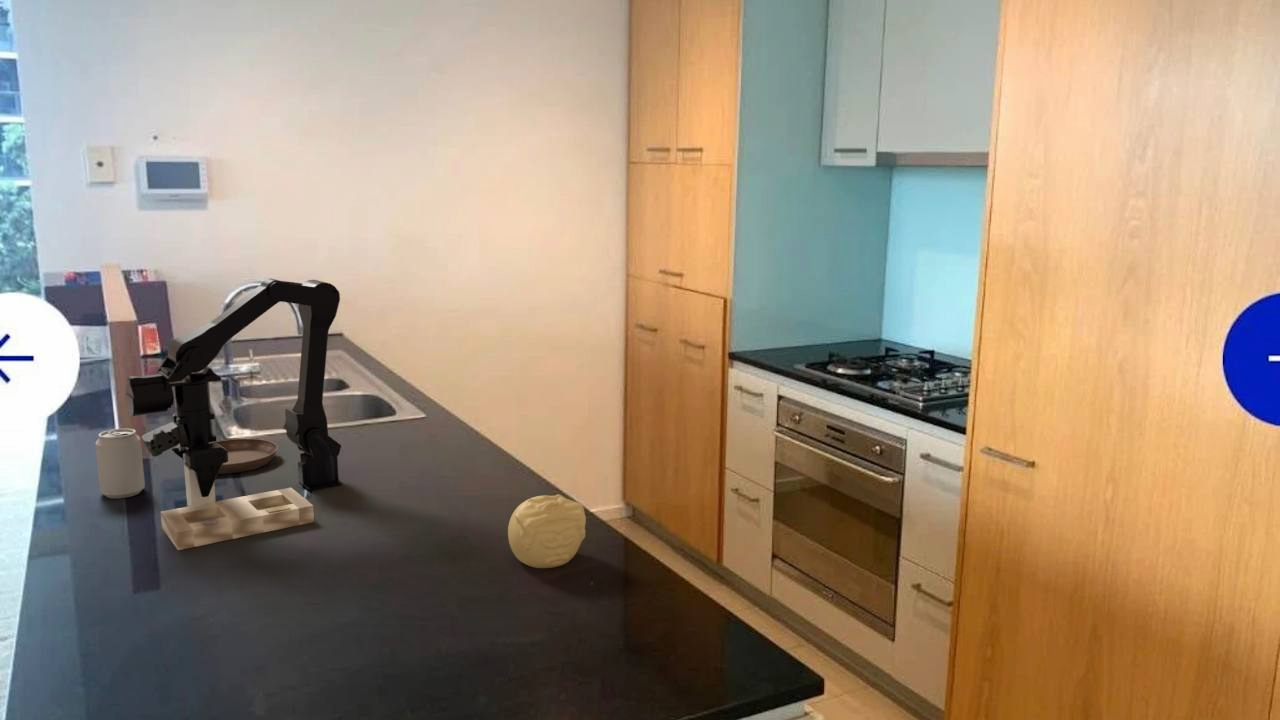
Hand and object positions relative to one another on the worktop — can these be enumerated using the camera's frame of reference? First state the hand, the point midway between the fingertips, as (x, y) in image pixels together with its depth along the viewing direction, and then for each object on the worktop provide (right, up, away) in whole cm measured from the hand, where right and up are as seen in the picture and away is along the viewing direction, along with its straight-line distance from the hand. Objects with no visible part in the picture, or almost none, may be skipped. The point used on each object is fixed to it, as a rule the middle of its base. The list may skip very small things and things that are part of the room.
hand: (200, 491), depth 178 cm
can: (-18, -2, +8) cm, 20 cm away
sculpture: (+64, -8, -22) cm, 69 cm away
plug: (0, -3, +1) cm, 3 cm away
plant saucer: (-5, +2, +27) cm, 28 cm away
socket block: (+10, -5, -8) cm, 14 cm away
